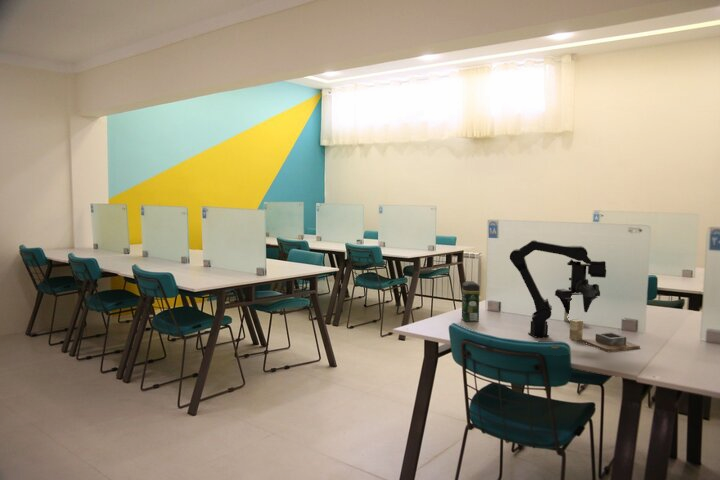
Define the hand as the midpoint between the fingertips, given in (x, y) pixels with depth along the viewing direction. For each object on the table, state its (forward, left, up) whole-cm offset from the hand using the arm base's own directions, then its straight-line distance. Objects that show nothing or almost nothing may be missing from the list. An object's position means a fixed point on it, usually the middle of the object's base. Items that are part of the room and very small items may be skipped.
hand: (576, 312), depth 227 cm
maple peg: (0, 0, -11) cm, 11 cm away
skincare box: (+20, +27, -11) cm, 36 cm away
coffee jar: (-26, +43, -11) cm, 51 cm away
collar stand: (+7, -12, -11) cm, 18 cm away
